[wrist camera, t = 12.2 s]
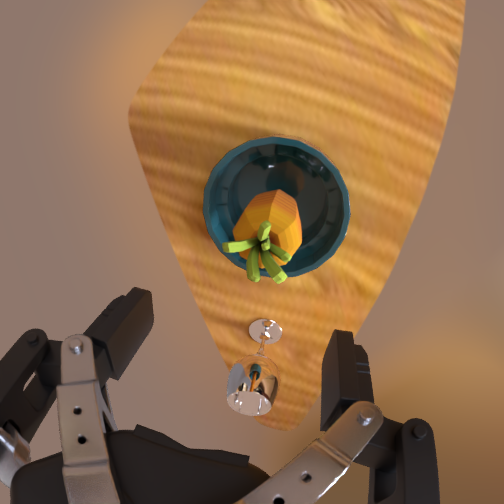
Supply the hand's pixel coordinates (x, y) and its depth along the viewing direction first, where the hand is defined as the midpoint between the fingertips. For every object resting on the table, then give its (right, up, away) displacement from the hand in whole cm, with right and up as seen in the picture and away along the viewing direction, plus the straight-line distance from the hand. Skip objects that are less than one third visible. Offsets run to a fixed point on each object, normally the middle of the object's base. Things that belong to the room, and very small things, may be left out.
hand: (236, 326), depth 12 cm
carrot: (+3, +9, +18) cm, 20 cm away
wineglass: (+2, -7, +26) cm, 27 cm away
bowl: (+3, +9, +18) cm, 20 cm away
